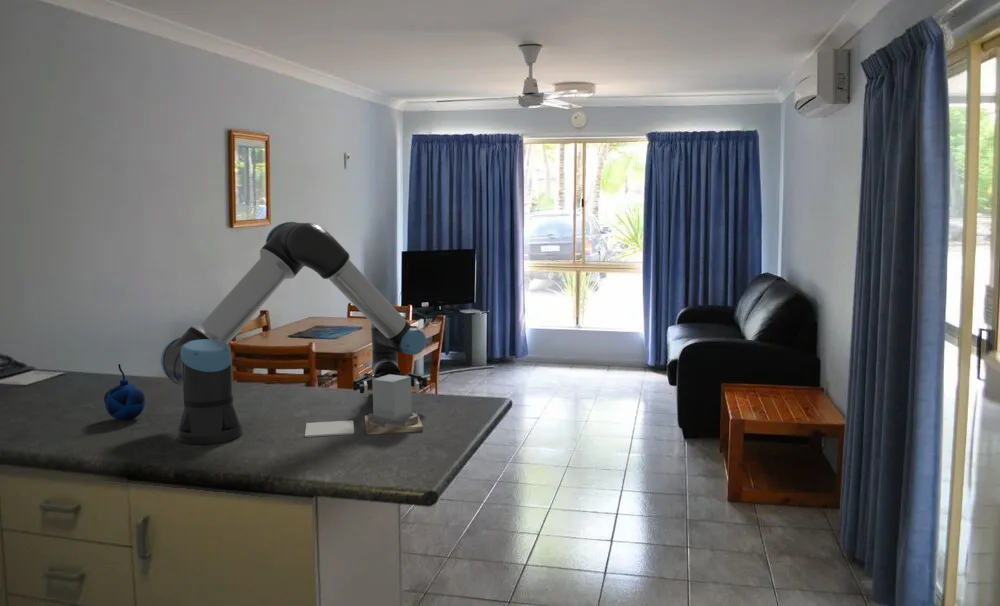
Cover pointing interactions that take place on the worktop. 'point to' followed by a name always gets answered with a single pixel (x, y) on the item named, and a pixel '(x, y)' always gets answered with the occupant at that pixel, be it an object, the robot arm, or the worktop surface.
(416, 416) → the ring stand
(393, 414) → the supplement box
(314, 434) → the coaster
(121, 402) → the bomb
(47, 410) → the worktop surface
